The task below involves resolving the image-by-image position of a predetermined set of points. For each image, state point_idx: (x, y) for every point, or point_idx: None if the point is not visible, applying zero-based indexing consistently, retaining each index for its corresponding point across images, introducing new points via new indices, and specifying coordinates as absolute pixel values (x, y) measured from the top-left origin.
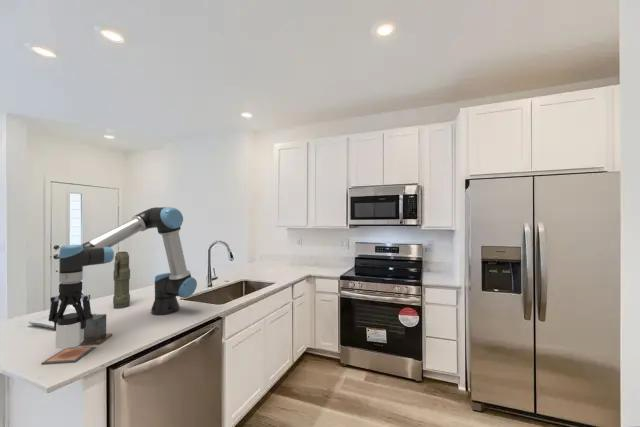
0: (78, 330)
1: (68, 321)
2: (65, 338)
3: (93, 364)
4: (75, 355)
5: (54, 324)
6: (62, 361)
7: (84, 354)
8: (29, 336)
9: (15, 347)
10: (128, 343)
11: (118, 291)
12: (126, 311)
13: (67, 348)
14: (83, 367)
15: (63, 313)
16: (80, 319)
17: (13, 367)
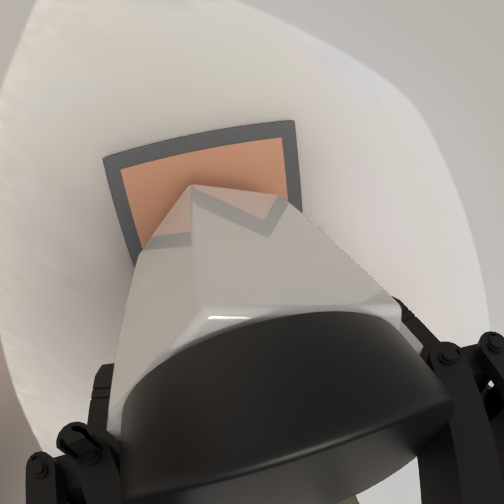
0: (122, 336)
1: (179, 414)
2: (189, 213)
3: (4, 159)
4: (163, 219)
5: (428, 331)
6: (179, 142)
7: (125, 239)
8: (455, 330)
9: (464, 271)
10: (57, 361)
11: (343, 501)
12: None
13: None
14: (23, 120)
15: (420, 475)
16: (101, 465)
17: (395, 106)
